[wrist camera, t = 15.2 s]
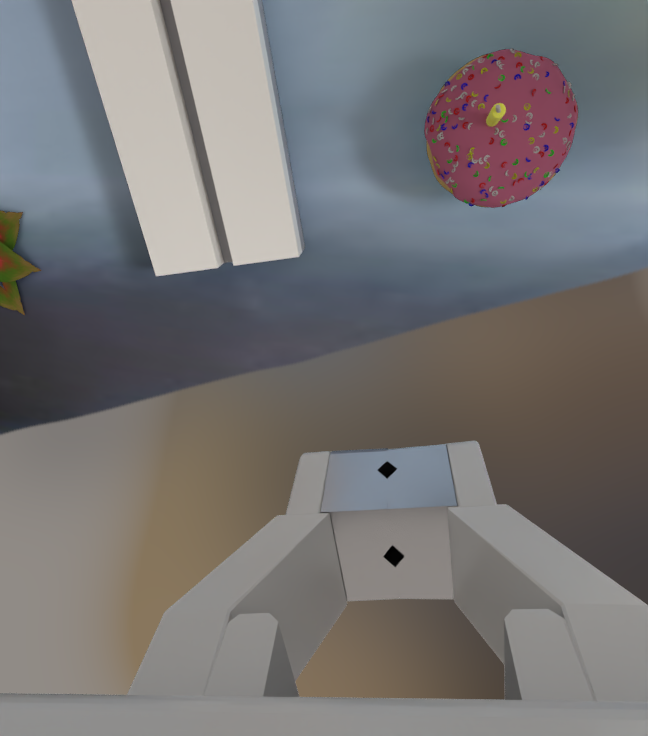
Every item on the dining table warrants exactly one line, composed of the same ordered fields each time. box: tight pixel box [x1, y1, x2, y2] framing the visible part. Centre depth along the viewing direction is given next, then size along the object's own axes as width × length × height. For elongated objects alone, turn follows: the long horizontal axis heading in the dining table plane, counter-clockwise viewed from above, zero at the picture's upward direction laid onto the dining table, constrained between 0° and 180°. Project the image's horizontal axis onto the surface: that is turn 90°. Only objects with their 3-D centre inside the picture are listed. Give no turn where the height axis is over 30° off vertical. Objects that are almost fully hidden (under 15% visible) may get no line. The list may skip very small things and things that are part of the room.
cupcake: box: [424, 48, 578, 208], centre depth 28 cm, size 9×8×12 cm
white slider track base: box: [71, 0, 305, 276], centre depth 31 cm, size 11×32×3 cm, turn 9°
